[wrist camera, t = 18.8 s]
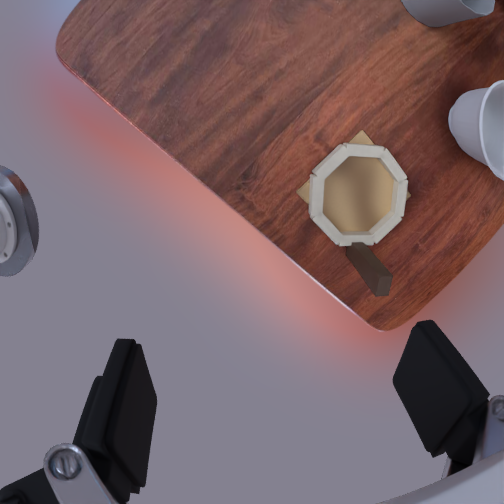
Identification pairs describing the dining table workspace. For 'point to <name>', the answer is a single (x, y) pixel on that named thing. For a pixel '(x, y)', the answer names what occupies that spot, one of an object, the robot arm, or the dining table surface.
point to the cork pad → (356, 191)
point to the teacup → (481, 125)
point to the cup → (447, 10)
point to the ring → (357, 240)
